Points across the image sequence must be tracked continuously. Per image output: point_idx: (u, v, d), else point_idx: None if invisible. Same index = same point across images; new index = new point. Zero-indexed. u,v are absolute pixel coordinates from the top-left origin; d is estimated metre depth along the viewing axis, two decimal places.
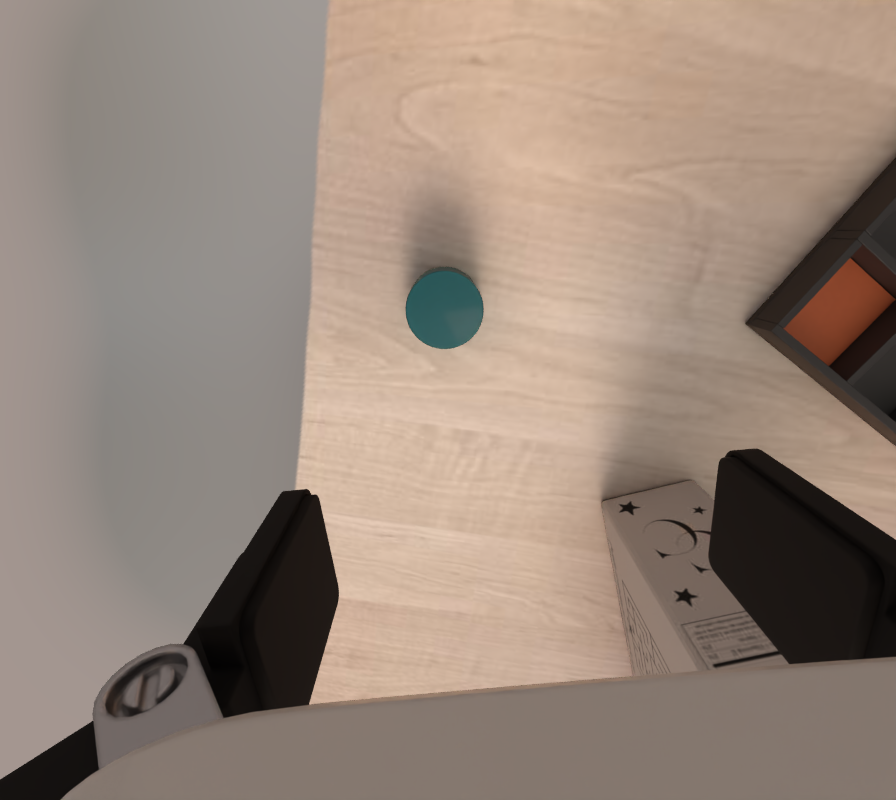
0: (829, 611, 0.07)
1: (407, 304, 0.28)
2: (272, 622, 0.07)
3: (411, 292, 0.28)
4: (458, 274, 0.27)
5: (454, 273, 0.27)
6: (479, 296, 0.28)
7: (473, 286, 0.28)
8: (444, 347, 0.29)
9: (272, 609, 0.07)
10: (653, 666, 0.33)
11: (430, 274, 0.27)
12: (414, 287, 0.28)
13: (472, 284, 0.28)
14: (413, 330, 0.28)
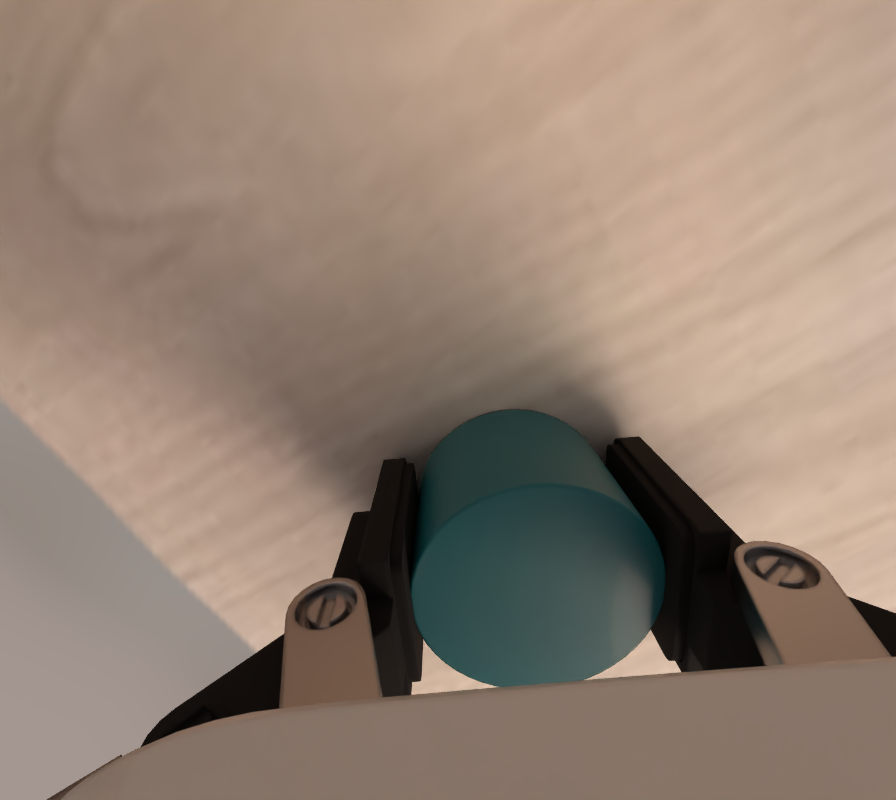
0: (666, 574, 0.08)
1: (431, 645, 0.09)
2: (406, 564, 0.08)
3: (417, 616, 0.09)
4: (502, 493, 0.08)
5: (489, 500, 0.08)
6: (607, 502, 0.08)
7: (569, 491, 0.08)
8: (604, 667, 0.09)
9: (405, 553, 0.08)
10: None
11: (427, 547, 0.08)
12: (414, 601, 0.09)
13: (562, 488, 0.08)
14: (495, 683, 0.09)
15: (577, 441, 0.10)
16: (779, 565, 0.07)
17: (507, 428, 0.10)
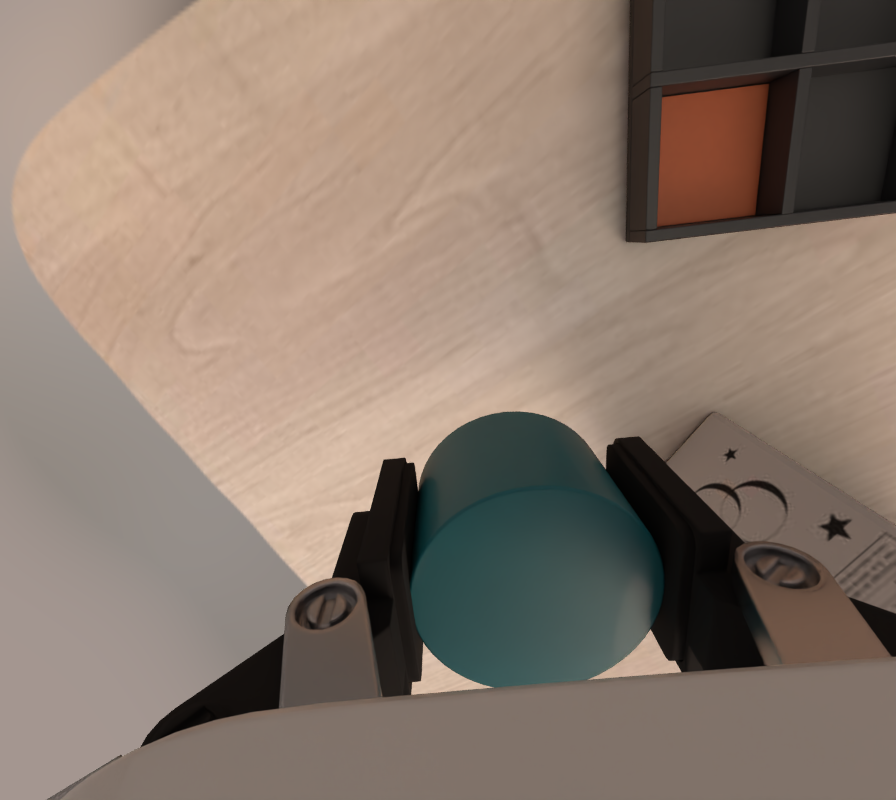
0: (666, 574, 0.08)
1: (430, 647, 0.09)
2: (407, 565, 0.08)
3: (416, 617, 0.09)
4: (500, 496, 0.08)
5: (487, 503, 0.08)
6: (606, 504, 0.08)
7: (568, 494, 0.08)
8: (603, 668, 0.09)
9: (406, 553, 0.08)
10: None
11: (426, 549, 0.08)
12: (413, 602, 0.09)
13: (561, 490, 0.08)
14: (494, 684, 0.09)
15: (576, 443, 0.10)
16: (779, 565, 0.07)
17: (506, 430, 0.10)
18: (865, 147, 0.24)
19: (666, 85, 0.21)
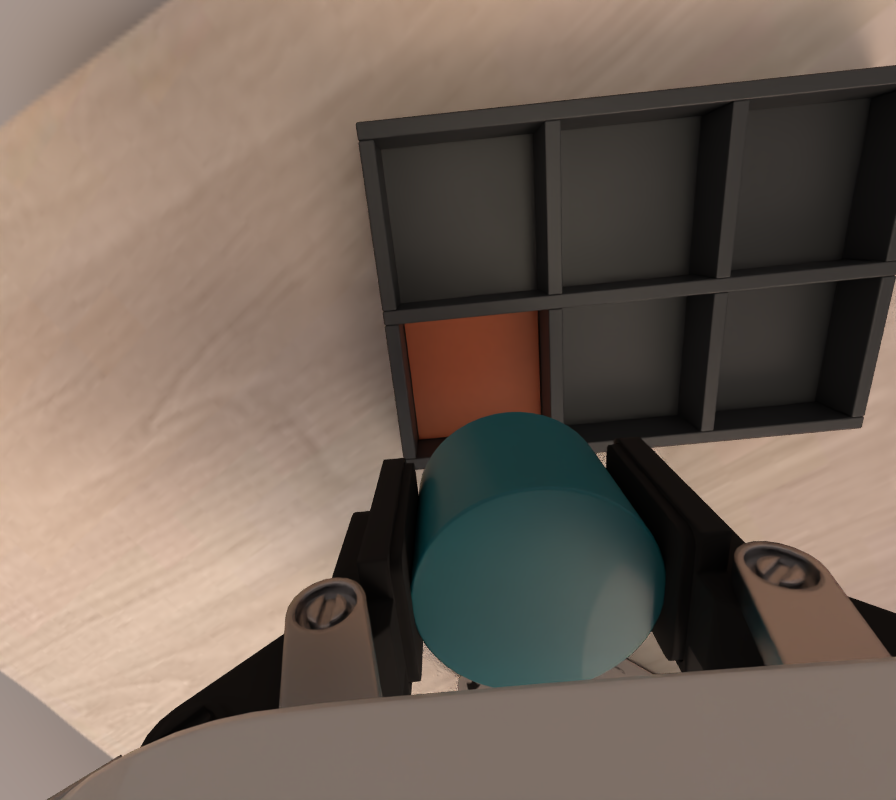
0: (666, 574, 0.08)
1: (431, 648, 0.09)
2: (406, 564, 0.08)
3: (417, 618, 0.09)
4: (502, 496, 0.08)
5: (489, 503, 0.08)
6: (608, 505, 0.08)
7: (570, 494, 0.08)
8: (605, 669, 0.09)
9: (405, 553, 0.08)
10: None
11: (427, 550, 0.08)
12: (414, 603, 0.09)
13: (562, 491, 0.08)
14: (495, 685, 0.09)
15: (577, 443, 0.10)
16: (779, 565, 0.07)
17: (507, 430, 0.10)
18: (653, 364, 0.22)
19: (403, 323, 0.19)
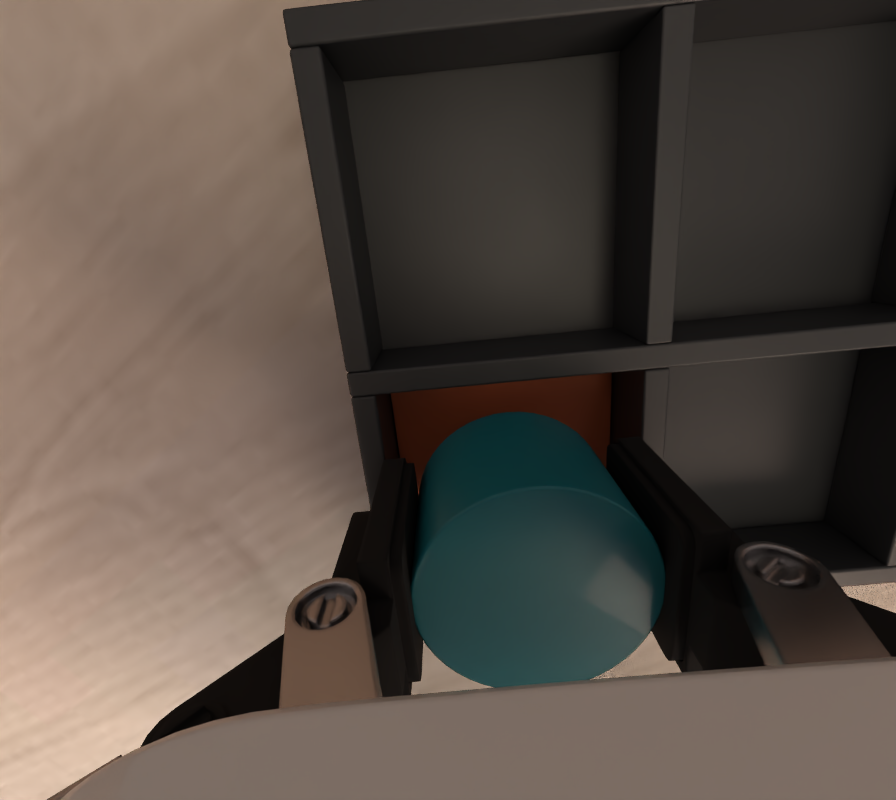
0: (666, 574, 0.08)
1: (431, 647, 0.09)
2: (406, 564, 0.08)
3: (417, 618, 0.09)
4: (502, 496, 0.08)
5: (489, 503, 0.08)
6: (607, 504, 0.08)
7: (569, 494, 0.08)
8: (604, 668, 0.09)
9: (405, 553, 0.08)
10: None
11: (427, 549, 0.08)
12: (414, 603, 0.09)
13: (562, 490, 0.08)
14: (495, 684, 0.09)
15: (577, 443, 0.10)
16: (779, 565, 0.07)
17: (507, 430, 0.10)
18: (794, 445, 0.14)
19: (384, 393, 0.11)
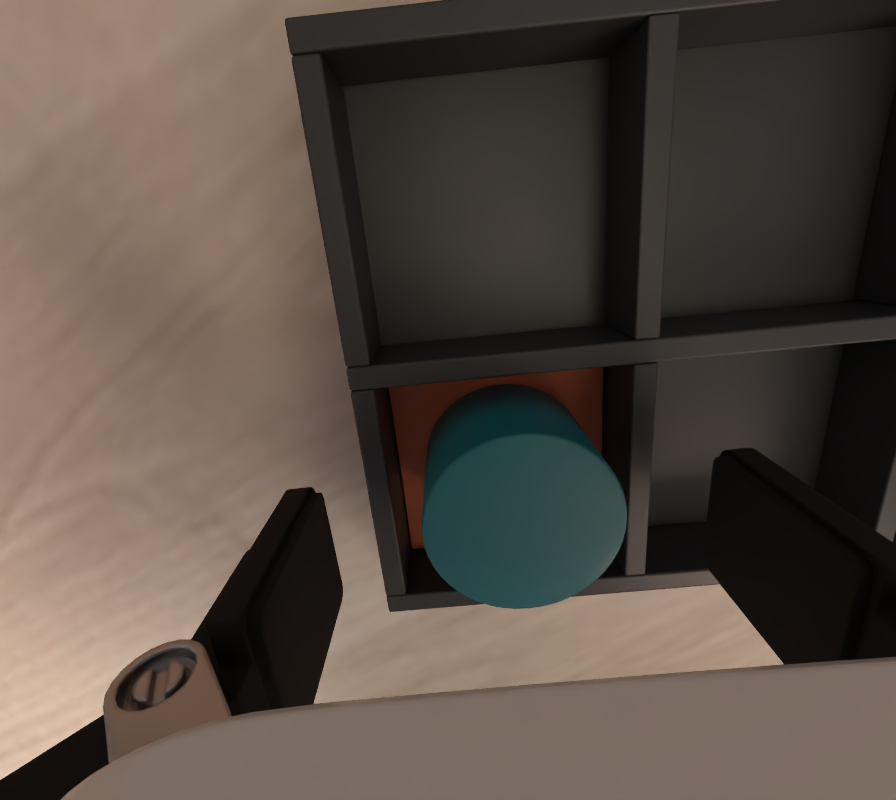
0: (820, 608, 0.07)
1: (438, 569, 0.11)
2: (279, 618, 0.07)
3: (427, 544, 0.11)
4: (495, 441, 0.10)
5: (485, 447, 0.10)
6: (579, 448, 0.10)
7: (549, 439, 0.10)
8: (579, 588, 0.11)
9: (279, 605, 0.07)
10: None
11: (436, 486, 0.10)
12: (425, 531, 0.11)
13: (543, 437, 0.10)
14: (490, 602, 0.11)
15: (559, 408, 0.12)
16: None
17: (501, 397, 0.12)
18: (781, 439, 0.14)
19: (382, 387, 0.11)
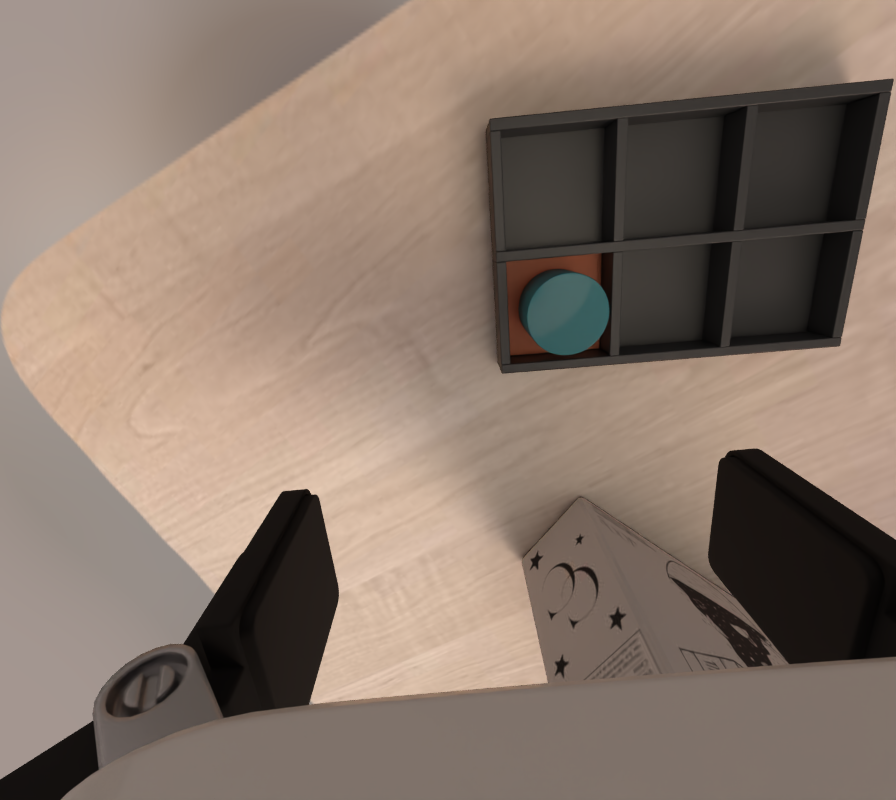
0: (829, 611, 0.07)
1: (532, 334, 0.27)
2: (272, 622, 0.07)
3: (528, 322, 0.27)
4: (558, 275, 0.26)
5: (554, 277, 0.26)
6: (590, 279, 0.26)
7: (579, 275, 0.26)
8: (589, 345, 0.27)
9: (272, 609, 0.07)
10: None
11: (534, 295, 0.26)
12: (528, 316, 0.27)
13: (576, 274, 0.26)
14: (552, 351, 0.27)
15: None
16: None
17: (556, 270, 0.28)
18: (685, 300, 0.30)
19: (509, 261, 0.27)
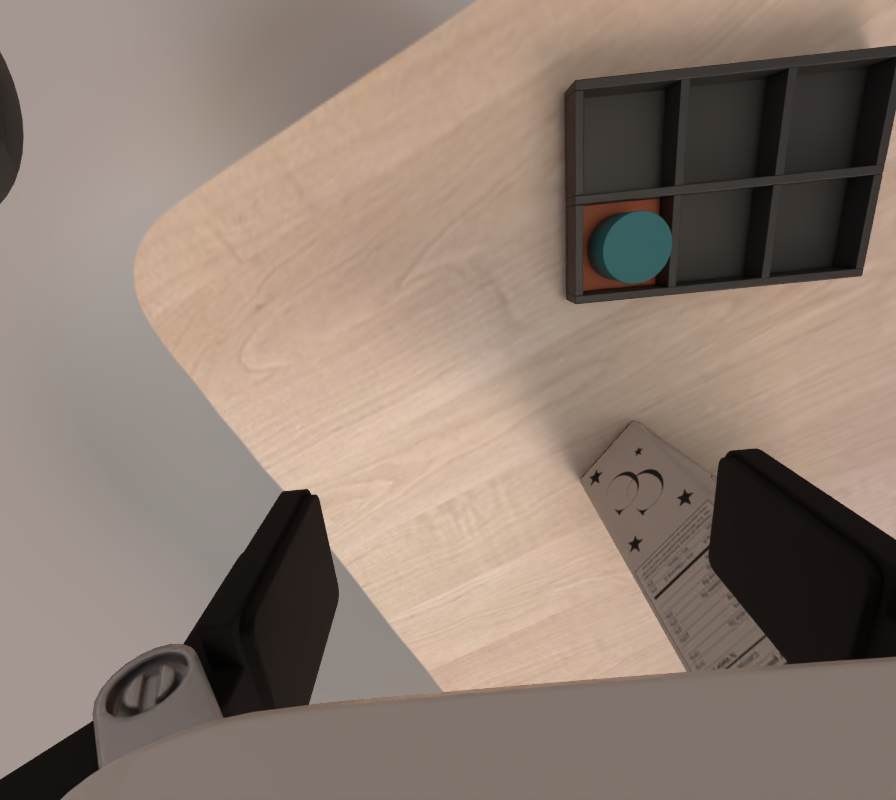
0: (829, 611, 0.07)
1: (606, 265, 0.32)
2: (272, 622, 0.07)
3: (604, 254, 0.32)
4: (631, 213, 0.31)
5: (627, 215, 0.31)
6: (657, 216, 0.31)
7: (648, 212, 0.31)
8: (654, 274, 0.32)
9: (272, 609, 0.07)
10: None
11: (610, 230, 0.31)
12: (604, 249, 0.32)
13: (646, 212, 0.31)
14: (623, 280, 0.32)
15: None
16: None
17: None
18: (729, 240, 0.35)
19: (586, 203, 0.32)
